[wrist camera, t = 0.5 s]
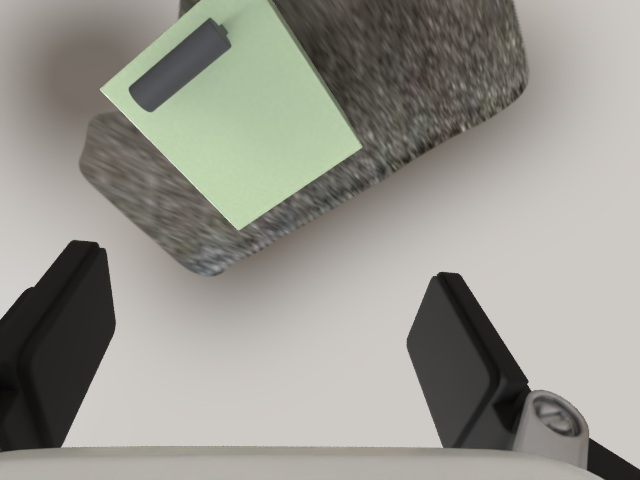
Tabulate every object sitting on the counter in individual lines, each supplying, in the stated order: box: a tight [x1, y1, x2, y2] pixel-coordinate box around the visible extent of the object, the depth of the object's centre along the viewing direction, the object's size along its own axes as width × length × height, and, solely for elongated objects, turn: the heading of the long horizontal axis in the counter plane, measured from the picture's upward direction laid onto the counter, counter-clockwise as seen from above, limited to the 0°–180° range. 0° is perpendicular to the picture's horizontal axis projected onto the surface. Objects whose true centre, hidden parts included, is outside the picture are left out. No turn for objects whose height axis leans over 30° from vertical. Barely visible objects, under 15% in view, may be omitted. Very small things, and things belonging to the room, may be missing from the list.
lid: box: [100, 0, 362, 230], centre depth 30 cm, size 15×14×5 cm
